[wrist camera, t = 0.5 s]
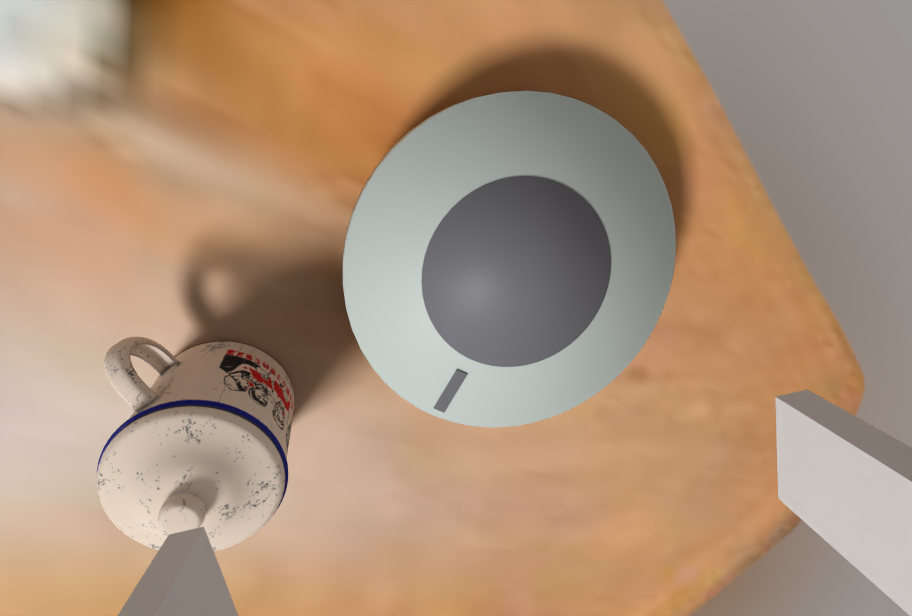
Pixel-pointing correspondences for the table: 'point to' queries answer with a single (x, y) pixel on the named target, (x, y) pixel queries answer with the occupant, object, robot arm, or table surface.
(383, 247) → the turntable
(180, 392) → the teacup with lid
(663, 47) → the table surface
